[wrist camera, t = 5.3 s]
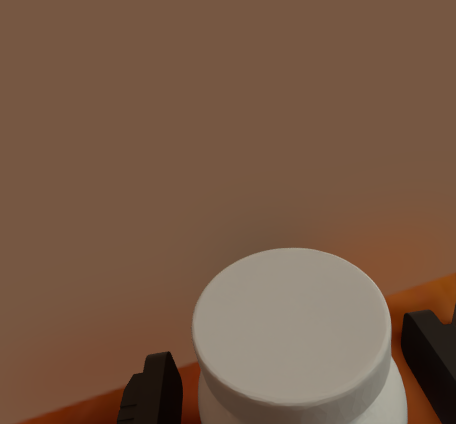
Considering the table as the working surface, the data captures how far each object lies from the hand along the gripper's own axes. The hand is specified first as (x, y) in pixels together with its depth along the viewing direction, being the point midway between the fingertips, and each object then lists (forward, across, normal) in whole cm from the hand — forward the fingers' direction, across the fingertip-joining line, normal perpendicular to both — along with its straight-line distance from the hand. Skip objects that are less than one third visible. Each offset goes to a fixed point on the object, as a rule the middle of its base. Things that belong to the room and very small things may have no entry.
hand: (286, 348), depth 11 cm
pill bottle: (-2, 0, +6) cm, 6 cm away
